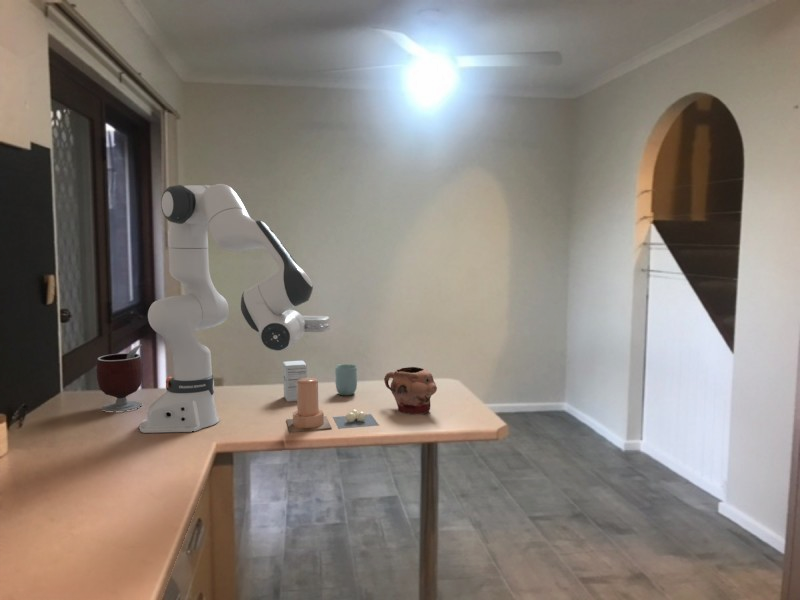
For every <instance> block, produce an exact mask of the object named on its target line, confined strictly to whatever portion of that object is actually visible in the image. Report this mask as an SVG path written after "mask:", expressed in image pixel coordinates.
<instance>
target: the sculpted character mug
mask: <svg viewBox="0 0 800 600" xmlns="http://www.w3.org/2000/svg"><path fill="white" fill-rule="evenodd" d="M390 379H392V380H391V382H390V385H389V381H390ZM384 384H385V387H386V388H387V389H389V391H390V392H391V394H392V396H393V397H394V400H395V402H396V405H397V409H398V412H399V413H403V414H407V415H424V414H427V413H429V412H430V411H431V397H432V396H433V395H435V393H436V392H437V390H438V387H437V384H436V382H435V381H434V376H433V375H432V373H431V372H430V371H429V370H428V369H425V368H422V367H418V366H417V367H415V366H406V367H405V366H404V367H401V368H396V369H395V371H394V372H393V371H390V372H389V371H388V372H387V373H386V374H385V376H384Z"/></svg>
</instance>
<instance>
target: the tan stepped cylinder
mask: <svg viewBox="0 0 800 600" xmlns="http://www.w3.org/2000/svg"><path fill="white" fill-rule="evenodd" d="M296 404H297V405H296V406H297V407H296V408H297V410H294V411H293V412H292V419H293V426H295V427H298V428H314V427H318V426H321V425H322V424H324V415H325V414H324V411H323V410H321V409H319V380H318V378H315V377H307V378H302V379H298V380H297V401H296Z"/></svg>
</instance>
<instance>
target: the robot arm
mask: <svg viewBox="0 0 800 600" xmlns="http://www.w3.org/2000/svg"><path fill="white" fill-rule="evenodd" d="M160 199H161V201H160V206H161V211H162V215H163V216H164V218H165V219H166V220H167V221H168V222H170V224H169V232H168V268H169V274H170V276H171V277H172V278H173V279H175V280H176V281H178V282H180V284H181V286H182V287H183V290H184V294H182V295H181V294H180V295H172V296H167V297H163V298H160V299H158V300H155V301H154V302H152V303H151V305H150V307H149V309H148V311H147V319H148V320H147V321H148V323H149V325H150V328H152V330H153V331H154V332H155V333H157V334H158V335H160V336H161V337H162V338H163V339H164V340H165V342H166V344H167V346H168V348H169V351H170V355H171V364H172V365H171V366H172V375H173V376H168V377H167V378H166V380H165V385H166V386H165V388H166V391H165V392H163V393H162V394H161V395H160V396H159V397H158V398H156V399H155V400H154V401H153V402H152V403H151V404H150V405H149V407H148V410H147V414H146V415H147V416H146V417H145V418H144V419H143V420H142V421H141V422H140V423H139V429H140V430H139V429H138V430H139V431H140V432H141V433H143V434H144V433H145V434H147V433H149V434H151V433H153V434H155V433H193V432H192V431H194V432H196V431H200V430H201V429H204V428H207V427H211V426H213V425H216V424H218V422H219V421H220V418H219V415H218V413H217V408H216V402H215V398H214V393H215V379H214V375H213V373H212V372H213V371H212V370H213V369H212V353H211V352H212V351H211V350H210V348H208V346H206V345H205V344H202V343H200V341H199V340H198V338H197V331H202V330H207V329H212V328H214V327H217V326H220V325H221V324H224V323H225V322H226V321H227V319H228V317H229V313H230V308H229V307H230V306H229V304H228V303H229V302H228V301H227V299H226V298H225V297H224V296H223V295H222V294H220V293H219V292H218V290H217V288H216V287H215V285H214V283H213V281H212V277H211V273H210V260H209V259H210V257H209V239H208V236H209V235H208V231H209V233H210V234H211V237H212V239H213V240H214V242H215V243H216V245H217V246H219V247H220V248H222V249H224V250H227V251H231V252H246V251H250V250H257V249H265V250H266V251H267V253H268V254H269V255H270V257H271V258H272V259H273V261H274V262H275V263H276V265H277V266H278V270H277V271H276V272H275V273H274V274H272V275H270V276H268V278H266V279H263V280H262V281H261V282H258V283H255V284H254V285H252V286H251V287H249V288H248V289H246V290H244V291H243V292H242V294H241V298H240V311H241V313H242V315H243V319H244V320H245V321H246V323H247V324H248V325H249V326H250V328H251V329H253V330H254V331H255V334H256V338H258V339H260V342H261V343H262V345H264V347H265V348H267V349H268V350H271V351H274V352H282V351H286V350H288V349H290V348H292V347H293V346H294V345H295V344H297V342H298V341H299V340H301V338H302V337H303V336H304V334H305V333H325V332H327V331H329V330H330V329H331V317H329V316H327V315H302V314H301V313H300V312H299V311H297V310H294V309H293V308H294V307H297V306H300V305H302V304H304V303H307V302H308V301H309V300H310V298H311V295H312V294H313V290H314V289H313V287H314V285H313V283H312V280H311V278H310V277H309V275H308V274H307V273H306V272H305V270H303V268H301V267H300V266H299V265H298V263H297V262H296V260H295V259H294V258H293V256H292V255H291V253H289V251H288V250H287V248H286V247H285V246H284V245H283V242H282V241H280V239H279V238H278V236H277V235H276V234H275V232H274V231H273V230H272V229H271V227H269V226H268V225H267V224H266V223H265V222H264V221H262V220H254V219H253V218H251V216H250V215H249V212H248V211H247V209H246V207H245V205H244V203H243V201H242V200H241V197H239V195H238V193H237V191H235V190H234V189H233V188H232V187H231V186H229V185H227V184H224V183H217V184H213V185H208V184H200V185H197V184H196V185H195V184H193V185H182V184H175V185H172V186H168V187H167V188H166V189H165V190H164V191H163V193H162V195H161V198H160Z"/></svg>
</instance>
